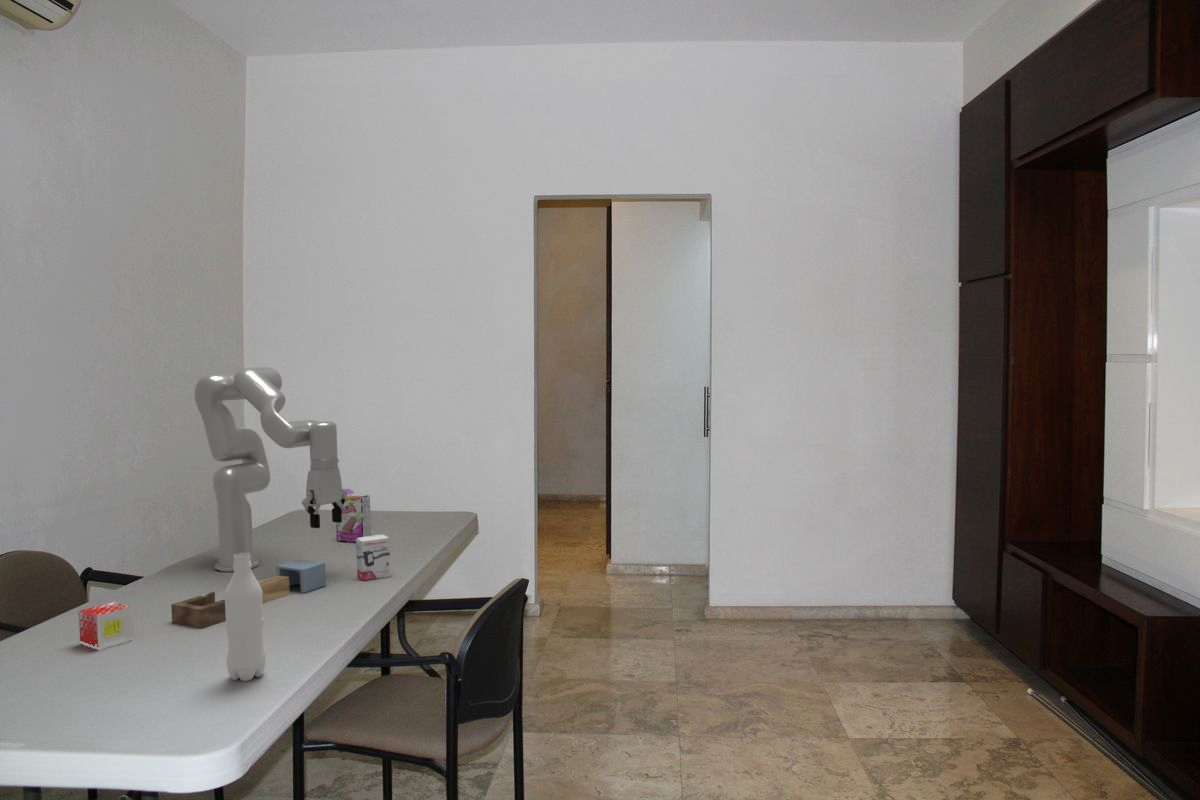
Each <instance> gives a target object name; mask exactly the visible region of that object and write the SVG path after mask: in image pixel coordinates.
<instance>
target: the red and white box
mask: <svg viewBox="0 0 1200 800" xmlns="http://www.w3.org/2000/svg"><path fill="white" fill-rule="evenodd" d="M133 612H134V611H133V606H130V605H126V604H123V603H119V602H116V601H113V602H108V603H105V604H100V605H96V606H93V607H88V608H84V609H81V610H78V611H77V613H78V627H79V629H78V630H79V631H78V632H79V642H80V641H83V642H85V643H88V644H90V645H91V644H92V645H93V646H95V644H97V647H100V646H101V645H107V644H110V643H114V642H117V641H122V640H125V639H129V638H134V639H135V632H134V613H133ZM90 642H91V643H90Z"/></svg>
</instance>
